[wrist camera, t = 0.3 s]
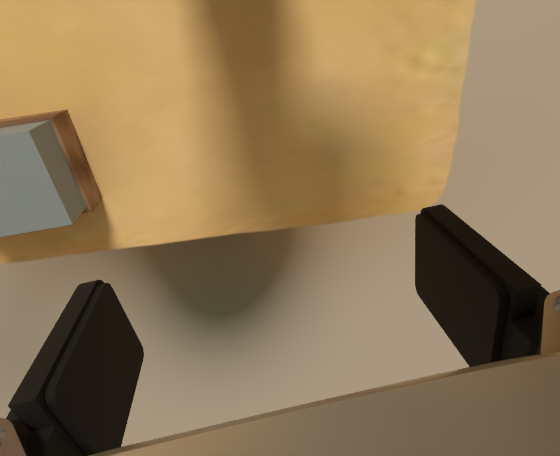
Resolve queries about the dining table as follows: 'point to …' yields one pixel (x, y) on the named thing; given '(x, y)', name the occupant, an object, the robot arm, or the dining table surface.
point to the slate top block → (35, 181)
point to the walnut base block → (66, 151)
